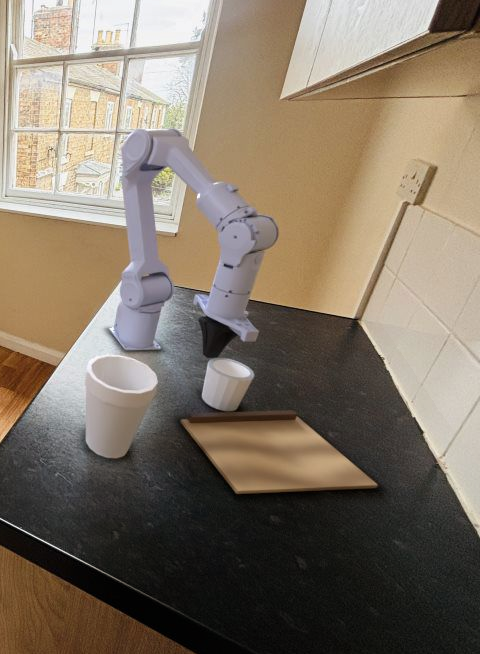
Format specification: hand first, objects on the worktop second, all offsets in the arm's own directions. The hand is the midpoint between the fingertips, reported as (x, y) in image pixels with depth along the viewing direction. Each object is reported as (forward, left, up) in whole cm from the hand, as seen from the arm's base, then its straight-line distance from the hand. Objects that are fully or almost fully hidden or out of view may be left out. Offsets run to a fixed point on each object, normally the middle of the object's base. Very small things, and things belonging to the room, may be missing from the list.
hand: (210, 356), depth 74 cm
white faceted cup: (+5, 0, -6) cm, 8 cm away
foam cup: (+14, -24, -6) cm, 29 cm away
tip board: (+17, 0, -6) cm, 18 cm away
